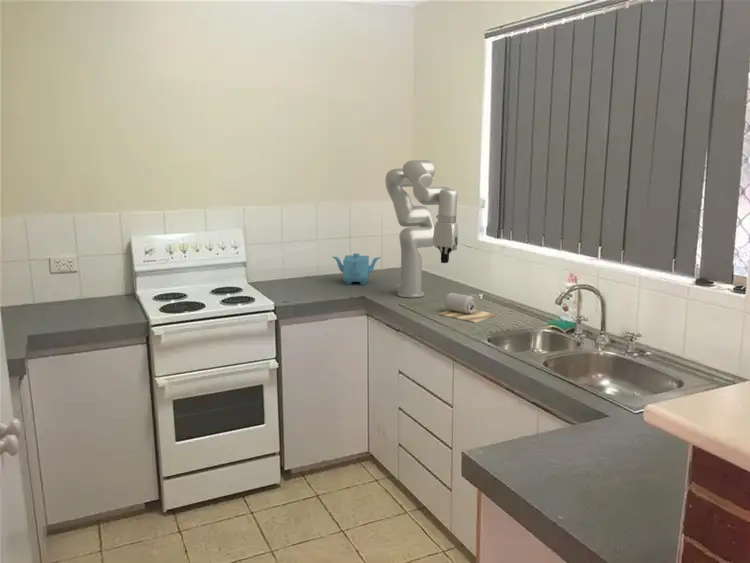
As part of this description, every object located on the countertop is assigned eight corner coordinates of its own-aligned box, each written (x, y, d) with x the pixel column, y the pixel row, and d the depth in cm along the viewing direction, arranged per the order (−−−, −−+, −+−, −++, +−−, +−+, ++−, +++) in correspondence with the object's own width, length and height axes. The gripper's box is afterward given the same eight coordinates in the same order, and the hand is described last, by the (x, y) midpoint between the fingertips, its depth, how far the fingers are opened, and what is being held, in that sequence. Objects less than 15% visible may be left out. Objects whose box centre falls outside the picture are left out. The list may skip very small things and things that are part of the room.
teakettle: (357, 277, 352) (357, 249, 349) (382, 282, 339) (382, 254, 336) (329, 282, 339) (329, 253, 336) (354, 288, 326) (354, 258, 323)
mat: (438, 314, 278) (438, 313, 278) (460, 307, 290) (460, 306, 290) (475, 322, 266) (475, 321, 266) (496, 315, 278) (496, 314, 278)
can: (445, 313, 284) (470, 318, 276) (441, 299, 280) (466, 304, 272) (454, 302, 288) (478, 307, 281) (450, 288, 284) (475, 293, 277)
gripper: (427, 218, 280) (425, 260, 284) (456, 222, 270) (454, 266, 275) (437, 216, 285) (435, 258, 290) (467, 220, 276) (464, 264, 280)
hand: (444, 262), depth 282 cm, fingers closed
